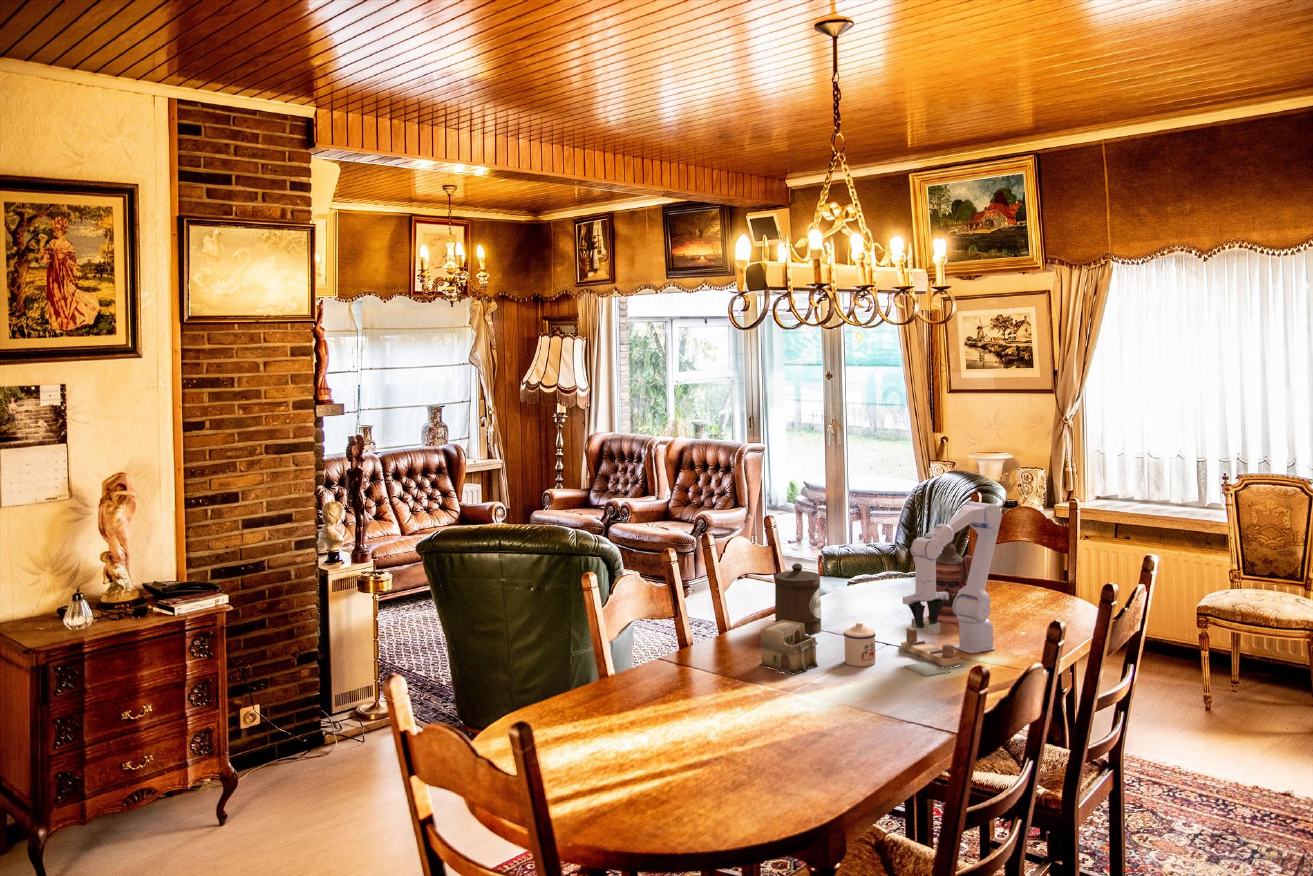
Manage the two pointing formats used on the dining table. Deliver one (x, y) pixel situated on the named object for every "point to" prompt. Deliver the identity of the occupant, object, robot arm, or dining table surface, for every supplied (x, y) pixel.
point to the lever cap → (927, 626)
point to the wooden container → (798, 598)
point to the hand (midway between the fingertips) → (926, 626)
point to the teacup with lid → (859, 646)
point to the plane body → (929, 651)
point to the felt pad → (926, 669)
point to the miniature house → (787, 647)
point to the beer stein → (950, 579)
